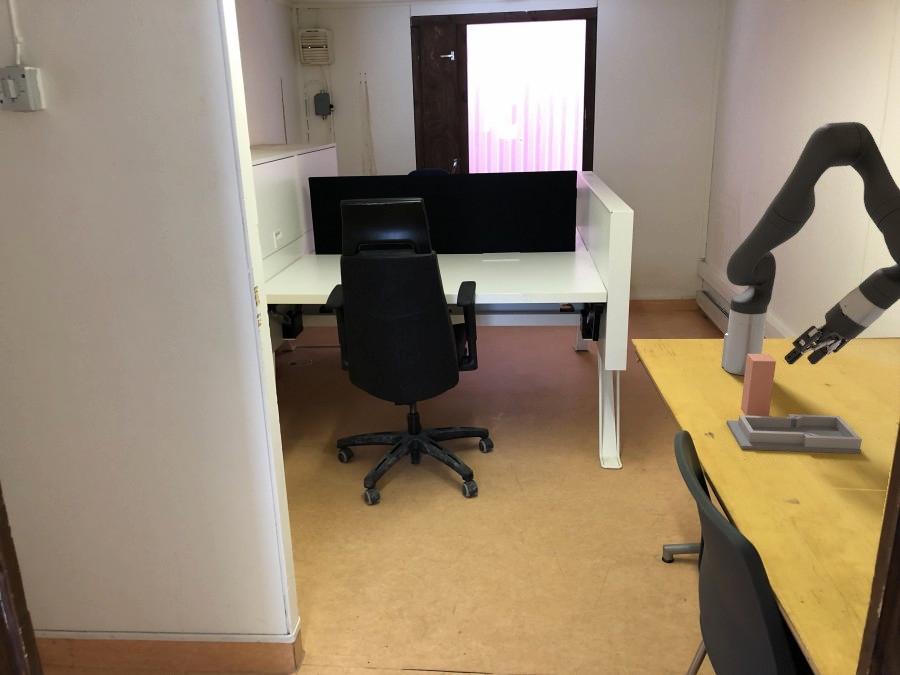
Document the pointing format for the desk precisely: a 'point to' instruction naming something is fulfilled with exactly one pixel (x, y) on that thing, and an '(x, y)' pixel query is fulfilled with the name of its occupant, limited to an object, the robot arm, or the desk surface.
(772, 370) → the block
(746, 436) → the keyhole board
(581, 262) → the desk surface
